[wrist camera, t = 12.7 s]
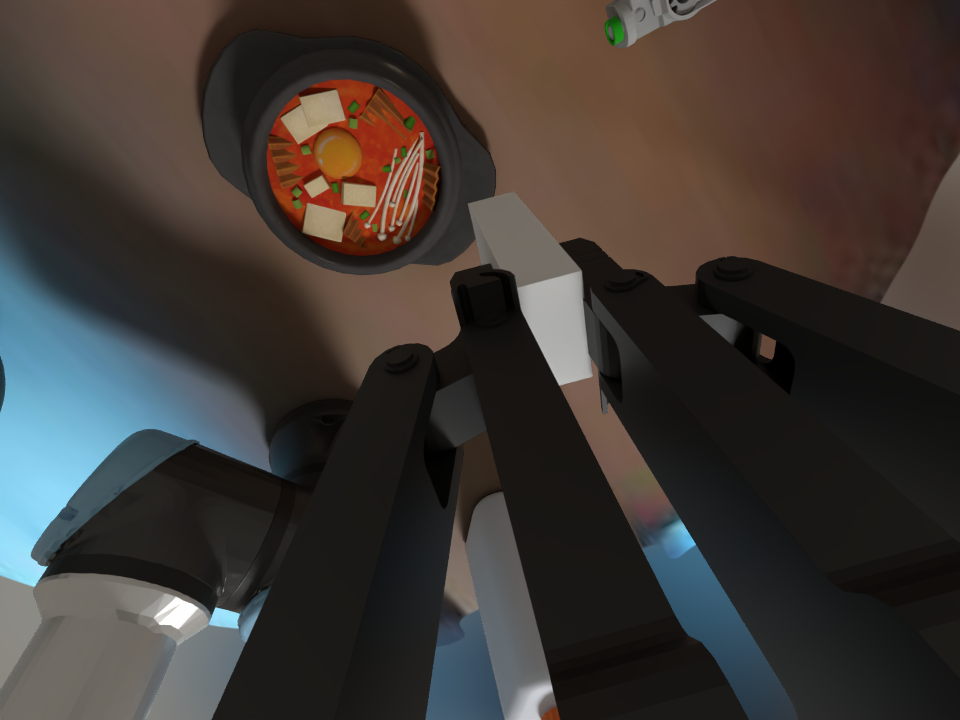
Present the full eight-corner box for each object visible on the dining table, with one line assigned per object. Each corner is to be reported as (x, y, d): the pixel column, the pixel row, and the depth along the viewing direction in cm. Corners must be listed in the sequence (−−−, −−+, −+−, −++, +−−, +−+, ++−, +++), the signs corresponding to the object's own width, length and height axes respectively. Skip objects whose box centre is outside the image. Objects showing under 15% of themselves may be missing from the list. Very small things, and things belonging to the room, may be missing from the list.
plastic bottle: (575, 487, 72) (663, 696, 49) (551, 552, 80) (617, 760, 56) (475, 487, 69) (519, 711, 45) (460, 555, 76) (491, 777, 53)
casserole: (527, 124, 44) (553, 139, 37) (443, 296, 52) (451, 334, 45) (238, -41, 35) (201, -64, 28) (188, 196, 43) (149, 224, 36)
